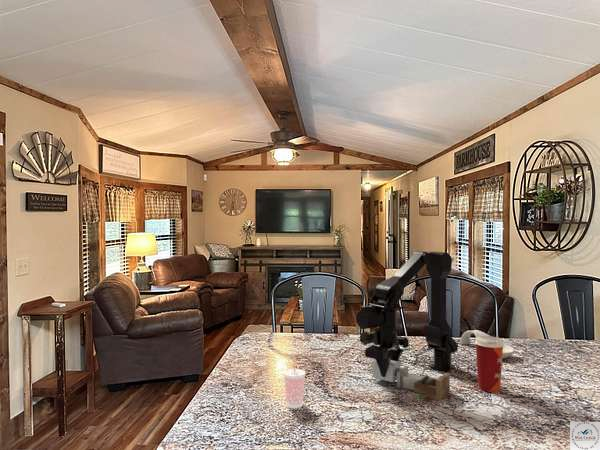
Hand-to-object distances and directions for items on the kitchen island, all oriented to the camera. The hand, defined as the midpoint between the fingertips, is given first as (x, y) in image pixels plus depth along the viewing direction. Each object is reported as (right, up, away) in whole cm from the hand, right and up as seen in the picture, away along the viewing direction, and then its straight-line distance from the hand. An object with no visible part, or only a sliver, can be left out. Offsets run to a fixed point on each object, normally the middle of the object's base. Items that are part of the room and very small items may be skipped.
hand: (387, 374), depth 140 cm
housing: (+10, -3, -10) cm, 14 cm away
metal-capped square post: (+7, -2, -7) cm, 10 cm away
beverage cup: (-29, -3, -17) cm, 34 cm away
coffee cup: (+30, -3, -5) cm, 30 cm away
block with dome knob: (0, -1, 0) cm, 1 cm away
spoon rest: (+43, -2, +32) cm, 54 cm away
